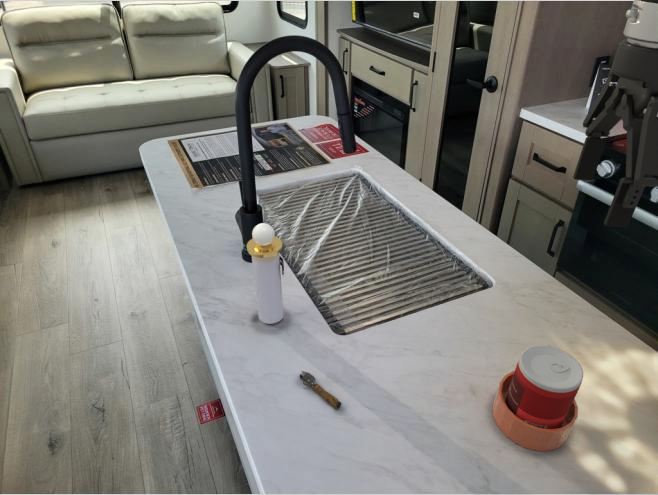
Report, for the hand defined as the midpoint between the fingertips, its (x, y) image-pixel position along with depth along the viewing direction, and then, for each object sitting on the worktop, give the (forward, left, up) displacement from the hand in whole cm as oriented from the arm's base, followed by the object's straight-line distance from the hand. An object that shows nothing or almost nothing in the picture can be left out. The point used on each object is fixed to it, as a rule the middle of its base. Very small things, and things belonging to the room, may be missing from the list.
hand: (597, 200), depth 68 cm
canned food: (+7, +18, -26) cm, 33 cm away
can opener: (+38, +17, -27) cm, 50 cm away
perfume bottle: (+49, +2, -27) cm, 56 cm away
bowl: (+7, +18, -27) cm, 33 cm away
